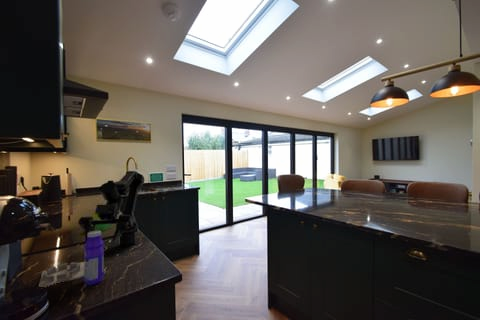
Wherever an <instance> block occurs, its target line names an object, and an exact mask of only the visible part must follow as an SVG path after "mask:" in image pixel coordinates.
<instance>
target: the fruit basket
mask: <svg viewBox="0 0 480 320" xmlns="http://www.w3.org/2000/svg"><path fill="white" fill-rule="evenodd" d="M92 217H93V219H94V220H99V219H100V218H99V217H98V214H97V213H93V216H92ZM111 226H112V224H102V225H95V228H93V229H94V231H96V230H99V231H101V232H103V231H107V230H108V229H111Z"/></svg>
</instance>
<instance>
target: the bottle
mask: <svg viewBox="0 0 480 320" xmlns="http://www.w3.org/2000/svg"><path fill="white" fill-rule="evenodd" d="M84 248H85V249H84V254H83V255H84V262H85V264H84V277H83V282H84V283H85V285H87V286H92V285H95V284H99V283H100V282H102V281H103V280H104V275H105V273H104V267H105V266H104V265H105V264H104V261H105V260H104V258H105V257H104V255H105V251H104V250H105V249H104V240H103V239H102V231H99V230H94V231H91V232H88V235H87V242H86V243H85V244H84Z"/></svg>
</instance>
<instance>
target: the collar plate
mask: <svg viewBox="0 0 480 320" xmlns="http://www.w3.org/2000/svg"><path fill="white" fill-rule="evenodd" d="M84 264H85V261H83V262H82V261H81V262H77V261H76V262H74V261H72V262H70V263H69V265H68V262H64V263H61V264H58V267H57V266H52V267H49V268H48V269H46V270H43V271H42V272H41V277H40V279H39V283H38V286H39V287H44V288H47V286H48V287H51V286H50V285H52V286H54V285H53V284H55V285H57V284H56V283H59V284H61V283H60V282H63V283H66V282H70V281H73V280H76V279H81V278H84ZM65 281H66V282H65Z"/></svg>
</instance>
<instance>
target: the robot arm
mask: <svg viewBox="0 0 480 320" xmlns="http://www.w3.org/2000/svg"><path fill="white" fill-rule="evenodd" d="M144 184H145V177H144V175H143V174H141V173H138V171H136V170H128V171H126V172H125V174H124V175H123V176H122V178H120V179H119V181H114V180H108V181H107V182H104V183H103V184H101V185H100V186H99V187H98V188H99V189H98V191H99V192H100V194H101V195H102V197H103V199H104V200H105V201H106V203H105V204H96V206H95V212H94V214H96V213H97V214H98V217H99V218H100V219H99V220H94V219H93V216H92V215H91V216H81V217H80V218H79V219H78V221H77V224H78V225H79V226H80V227H81V229H82V230H84V238H85V239H84V241H85V244H86V242H87V235H88V232H91V231H95V230H94V229H93V228H95V225H102V224H111V225H115V231H114V234H113V236H112V239H111V240H112V243H114V242H115V243H116V241H117V240H118V245H119V246H120V247H121V248H124V247H125V248H126V247H130V246H134V245H136V241H135V239H136V238H135V237H136V236H135V235H136V233H138V231H139V226H138V223H137V220H136V218H135V215H134V214H135V208H136V205H137V200H138V194H139V190H141V189H142V188H143V185H144ZM125 196H127V199H126V203H125V207H124V210H123V213H122V214H121V213H120V209H121V205H123V203H124V202H123V200H124V198H123V197H125Z"/></svg>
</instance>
